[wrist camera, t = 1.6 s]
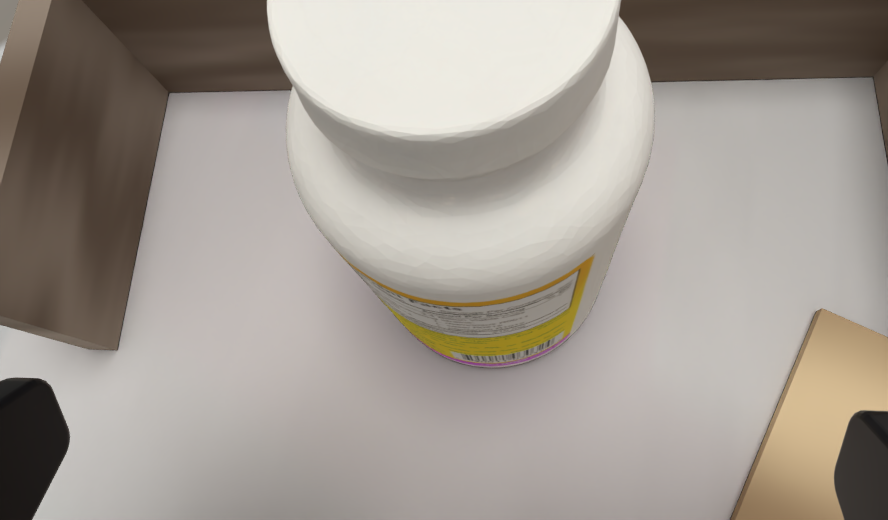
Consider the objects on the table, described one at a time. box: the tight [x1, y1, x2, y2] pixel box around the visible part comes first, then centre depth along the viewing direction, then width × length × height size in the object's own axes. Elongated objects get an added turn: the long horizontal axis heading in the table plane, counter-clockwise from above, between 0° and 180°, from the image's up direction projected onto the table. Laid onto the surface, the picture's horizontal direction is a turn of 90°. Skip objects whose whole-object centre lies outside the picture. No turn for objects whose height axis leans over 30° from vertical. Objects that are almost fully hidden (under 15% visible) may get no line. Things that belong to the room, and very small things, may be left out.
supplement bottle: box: [267, 0, 655, 368], centre depth 14 cm, size 7×7×13 cm
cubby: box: [0, 0, 888, 350], centre depth 18 cm, size 10×26×6 cm, turn 87°
